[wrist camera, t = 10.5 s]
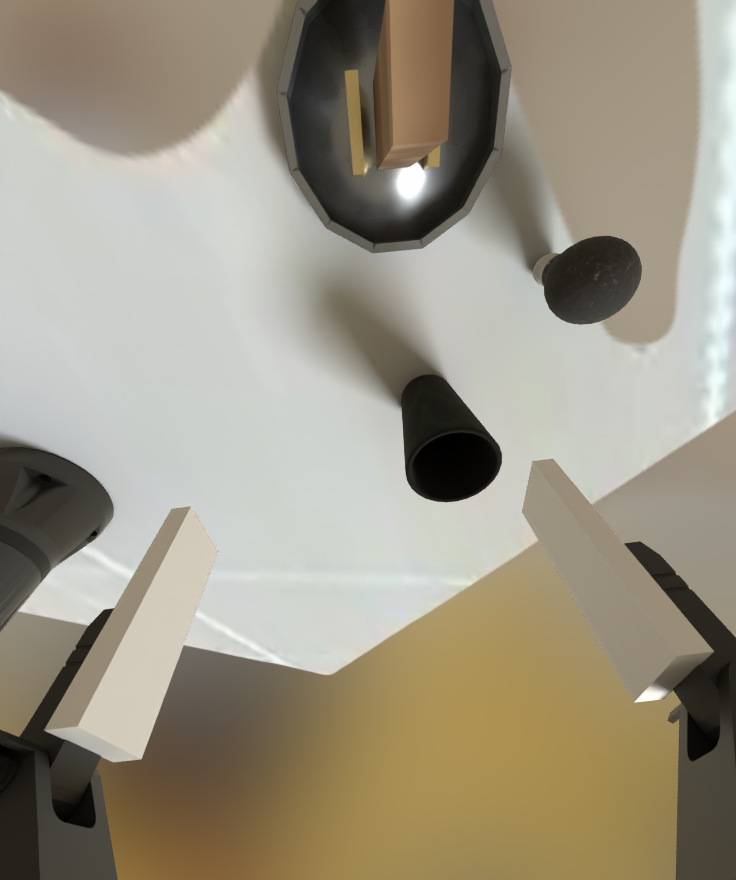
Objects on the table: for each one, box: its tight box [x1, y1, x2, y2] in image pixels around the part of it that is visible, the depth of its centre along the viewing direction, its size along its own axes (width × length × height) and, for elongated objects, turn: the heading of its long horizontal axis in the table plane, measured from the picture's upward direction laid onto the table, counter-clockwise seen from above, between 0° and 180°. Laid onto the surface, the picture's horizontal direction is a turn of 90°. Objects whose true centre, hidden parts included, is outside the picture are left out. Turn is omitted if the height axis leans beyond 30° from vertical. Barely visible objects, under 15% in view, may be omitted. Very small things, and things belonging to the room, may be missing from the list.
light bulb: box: [533, 236, 642, 324], centre depth 25 cm, size 6×6×10 cm
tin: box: [277, 0, 512, 253], centre depth 23 cm, size 15×15×3 cm
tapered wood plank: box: [373, 0, 454, 170], centre depth 18 cm, size 2×4×12 cm, turn 4°
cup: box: [401, 375, 502, 502], centre depth 31 cm, size 8×8×12 cm
